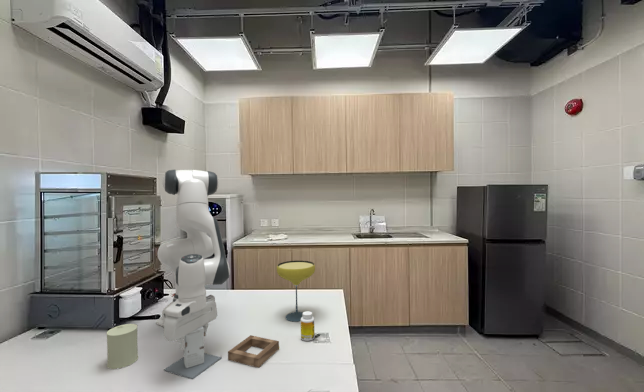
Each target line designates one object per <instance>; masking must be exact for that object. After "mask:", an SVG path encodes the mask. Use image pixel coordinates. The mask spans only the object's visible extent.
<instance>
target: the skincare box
mask: <svg viewBox="0 0 644 392" xmlns="http://www.w3.org/2000/svg"><path fill="white" fill-rule="evenodd" d="M183 340H184V342H187V347H186V348H184V349H183V357H184V364H185V367H186V368H189V367H192V366H196V365H199V364H202V363H204V353H205V337H204V328H203V326H201V327H199V328H198V329H196V330H194V331H193V332H191V333H189V334H187V335H185V338H184V339H183Z"/></svg>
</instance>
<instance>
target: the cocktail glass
mask: <svg viewBox="0 0 644 392" xmlns="http://www.w3.org/2000/svg"><path fill="white" fill-rule="evenodd" d="M315 271H316V265H315V263H314V262H312V261H310V260H309V261H308V260H289V261H282V262H280V263H278V264H277V265H276V272H277V275H278V276H279V277H280V278H282V279H283V280H286V281H289V282H291V283H292V285H293V286H294V287H295V310H294V311H292V312H290V313H288V314H286V315H285V320H286V321H288V322H295V323H297V322H301V318H302V316H303V312H304V311H299V307H298V286H299V285H301V283H302V282H303V281H305V280H307V279H308V278H310V277H312V275H314V274H315Z"/></svg>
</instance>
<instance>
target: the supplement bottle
mask: <svg viewBox="0 0 644 392" xmlns="http://www.w3.org/2000/svg"><path fill="white" fill-rule="evenodd" d="M302 312H303V316H302V318H301V321H300V339H301V340H302V341H305V342H310V341H313V340H314V339H315V317H314V316H313V312H312V311H302Z"/></svg>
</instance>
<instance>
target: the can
mask: <svg viewBox="0 0 644 392" xmlns="http://www.w3.org/2000/svg"><path fill="white" fill-rule="evenodd" d="M106 345H107V346H106V351H107V360H106V361H107V364H106V367H107V368H108V369H109V370H118V369H117V368H119V369H123V368H122V367H124V368H126V366H127V367H130V366H131V365H133V364H134V363H136V362H137V361H138V359H139V353H138V325H137V324H136V323H126V324H121V325H117V326H114V327H112V328H110V329H109V330H108V331H106Z"/></svg>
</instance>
